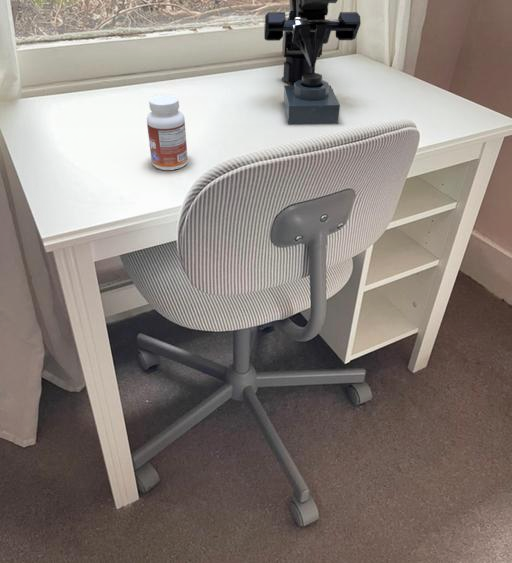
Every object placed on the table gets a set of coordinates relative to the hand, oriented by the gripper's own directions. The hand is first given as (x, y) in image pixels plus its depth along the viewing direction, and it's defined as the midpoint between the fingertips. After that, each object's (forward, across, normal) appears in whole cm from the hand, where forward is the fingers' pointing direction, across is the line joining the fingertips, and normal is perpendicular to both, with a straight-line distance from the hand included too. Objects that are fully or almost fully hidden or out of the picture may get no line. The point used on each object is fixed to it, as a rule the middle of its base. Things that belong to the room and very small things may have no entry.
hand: (312, 66), depth 106 cm
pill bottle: (+23, -27, -10) cm, 37 cm away
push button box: (+7, 0, +7) cm, 9 cm away
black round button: (+3, 0, +3) cm, 4 cm away
